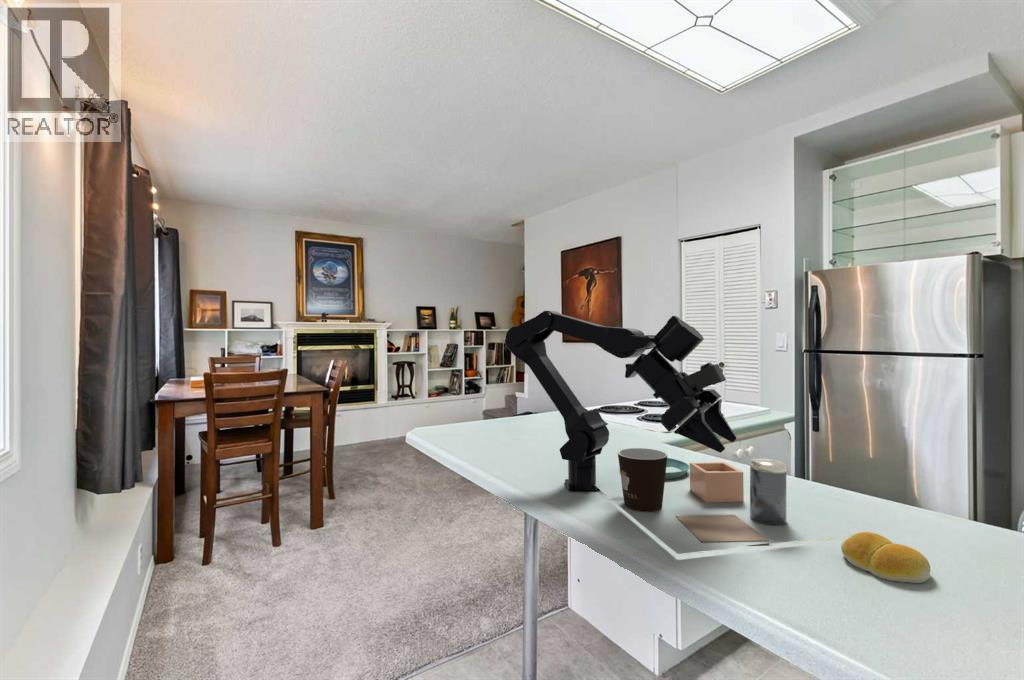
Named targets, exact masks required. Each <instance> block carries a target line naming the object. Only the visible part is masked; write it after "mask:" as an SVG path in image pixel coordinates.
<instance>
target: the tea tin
mask: <svg viewBox="0 0 1024 680" xmlns="http://www.w3.org/2000/svg"><path fill="white" fill-rule="evenodd" d="M749 474H750V475H749V487H750V488H749V494H750V495H749V518H750V519H751V521H753V522H755V523H758V524H762V525H765V526H773V527H776V526H777V527H779V526H780V527H781V526H785V525H786V524H787V464H786V463H785V462H783V461H781V460H776V459H771V458H762V457H761V458H752V459H750V460H749Z"/></svg>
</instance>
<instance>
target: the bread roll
mask: <svg viewBox="0 0 1024 680" xmlns="http://www.w3.org/2000/svg"><path fill="white" fill-rule="evenodd" d="M840 548H841V553H842V555H843V557H845V559H846V560H847V561H848V562H849V563H850V564H851V565H852V566H854V567H856V568H858V569H860V570H862V571H865V572H869V573H870V574H872V575H873V576H875V577H877V576H878V578H880V579H882V578H883V579H882V580H885V579H887V580H886V581H889V580H890V581H891V582H895V581H899V582H898V583H904V582H909V583H908V584H922V583H926V582H927V581H928V580H929V579H930V578H931V574H930V573H931V565H930V563H929V560H928V558H927V557H926V556H925V555H924V554H923V553H921V552H920V551H918V550H917V549H916V548H913V547H910V546H907V545H905V544H900V543H895V542H893V541H891V540H890V539H889V538H887V537H885V536H883V535H881V534H878V533H875V532H870V531H863V532H862V531H861V532H857V533H855V534H853V535H851V536H850V537H848V538H846V539H845V540H843V542H842V543H841V545H840Z"/></svg>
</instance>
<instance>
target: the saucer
mask: <svg viewBox="0 0 1024 680" xmlns="http://www.w3.org/2000/svg"><path fill="white" fill-rule="evenodd" d="M666 468H676V469H678V470H680V471H672V472H671V471H670V472H666V475H665V480H669V479H671V480H673V479H677V478H680V477H683V476H684V475H685V474H687V472H688V471H689V470H690V464H688V463H687V462H685V461H682V460H680V459H675V458H671V457H667V465H666Z"/></svg>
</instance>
